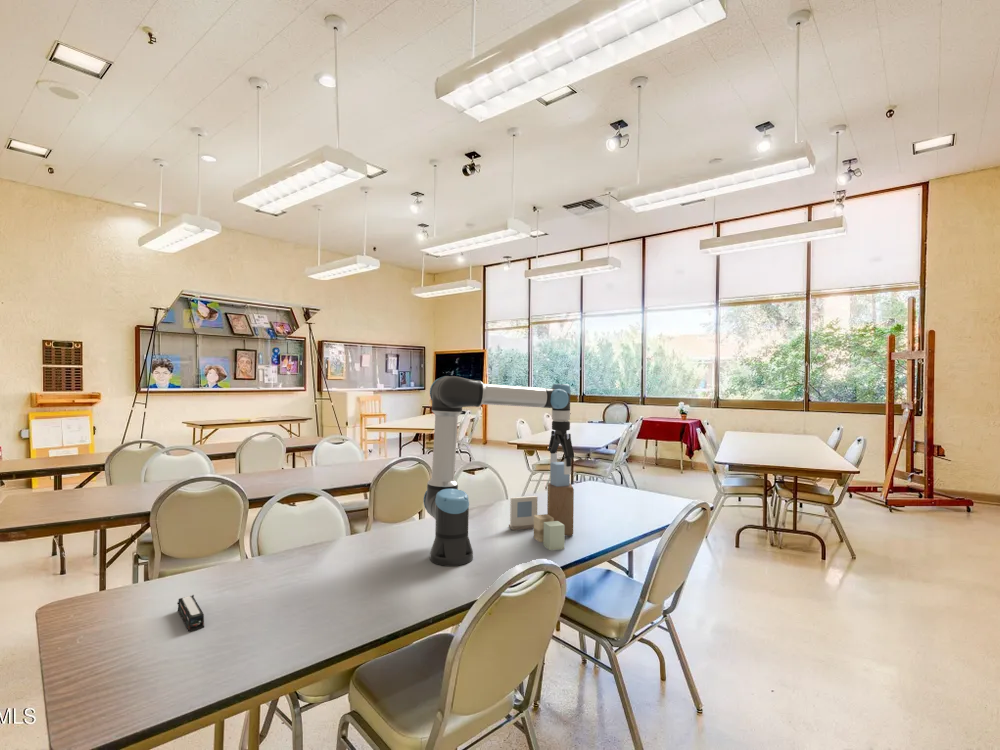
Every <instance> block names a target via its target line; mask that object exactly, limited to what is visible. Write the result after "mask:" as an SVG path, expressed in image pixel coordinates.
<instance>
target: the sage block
mask: <svg viewBox="0 0 1000 750" xmlns="http://www.w3.org/2000/svg"><path fill="white" fill-rule="evenodd" d="M565 538H566V536H565V525H564V524H562V523H561V522H559V521H550V522H544V542H543V547H545V548H546V549H548V550H549V551H556V550H557V551H558V550H559V551H560V550H565Z"/></svg>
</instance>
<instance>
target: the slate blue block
mask: <svg viewBox="0 0 1000 750" xmlns="http://www.w3.org/2000/svg"><path fill="white" fill-rule="evenodd" d="M549 469H550V472H549V473H550V475H549V477H550V478H549V479H550V480H549V483H550V484H552V485H554V486H556V487H559V486H570V484H571V480H570V475H571V474H568V475H564V461H557V462H550V467H549Z"/></svg>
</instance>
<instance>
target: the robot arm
mask: <svg viewBox="0 0 1000 750" xmlns="http://www.w3.org/2000/svg"><path fill="white" fill-rule="evenodd" d="M571 395H572V394H571V385H570V384H568V383H553V384H552V386H551V388H547V387H546V388H545V387H535V386H520V385H507V384H505V385H504V384H494V383H491V384H490V383H483V381H481V380H475V379H469V378H464V377H461V376H455V375H453V376H452V375H450V376H449V375H444V376H441V377H439V378H437V379H435V380H434V381H433V382H432V384H431V386H430V388H429V397H430V400H431V413H433V414H434V417H435V418H434V431H433V432H434V433H433V434H434V435H433V452H432V465H431V466H432V467H431V470H432V471H431V478H430V480H428V481H427V486H426V491H425V493H424V495H423V506H424V508H425V511H426V512H427V513H428V514H429V515H430V516H431V517H432V518H433V519H434V520H435V536H434V540H433V543H432V547H431V549H430V552H429V555H430V556H429V560H430V562H432V563H434V564H436V565H439V566H444V567H445V566H446V567H448V566H449V567H455V566H462V565H465V564H469V563H470V562H471V561H473V558H474V549H473V548H472V544H471V541H470V537H469V519H470V518H469V516H470V515H469V508H470V501H469V495H468V494H467V493H466V492H465V491H464V490H462V489H459V488H458V487H459V483H458V482H457V480H456V479H455V472H456V458H457V457H456V456H457V455H456V453H457V439H458V438H457V436H458V435H457V434H458V421H459V420H458V419H459V416H460V415H461V414H462V413H463V408H471V407H472V408H473V407H478V408H479V407H480V406H482V405H486V406H487V405H488V406H490V405H492V406H508V407H509V406H510V407H524V408H525V407H526V408H530V407H531V408H543V409H551V420H552V421H551V429H552V430H551V433H550V438H549V439H550V440H549V444H548V448H547V450H548V452H549V453H550V459H549V460H550V462H558V448H559V447H560V445H561V448H562V452H563V455H564V457H563V462H564V475H568V474H570V475H572V458H575V453H574V448H573V444H572V437H571V435H572V434H571V433H567V431H570V429H571V422H570V420H571V413H572V412H571Z"/></svg>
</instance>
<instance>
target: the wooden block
mask: <svg viewBox="0 0 1000 750" xmlns="http://www.w3.org/2000/svg"><path fill="white" fill-rule="evenodd" d="M574 493H575V489H574V487H573V485H572V484H571V483H570V486H559V487H556V486H554V485H552V484H550V482H548V483H547V504H546V505H547V511H546V512H547V513H546V514H548V515H550V516H551V517H553V518H554V521H559V522H561V523H562V524H564V525H565V537H566V536H570V537H571V536H573V535H574V509H575V508H574V503H575V502H574V500H575V499H574V497H575V495H574Z"/></svg>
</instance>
